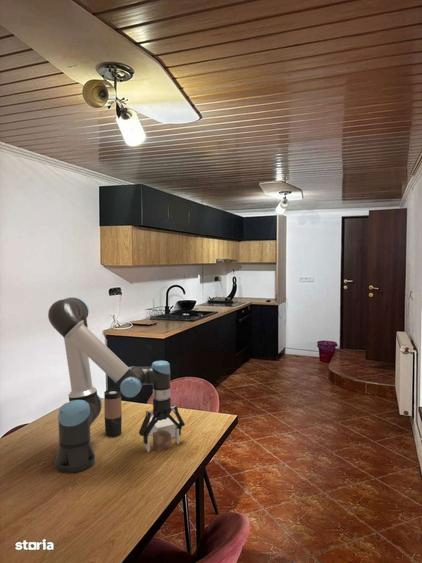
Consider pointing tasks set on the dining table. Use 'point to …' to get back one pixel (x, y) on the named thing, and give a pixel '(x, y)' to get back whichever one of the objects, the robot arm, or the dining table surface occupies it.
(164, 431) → the walnut cube
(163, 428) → the white block
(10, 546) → the dining table surface
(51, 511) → the dining table surface
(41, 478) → the dining table surface
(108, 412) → the travel mug
